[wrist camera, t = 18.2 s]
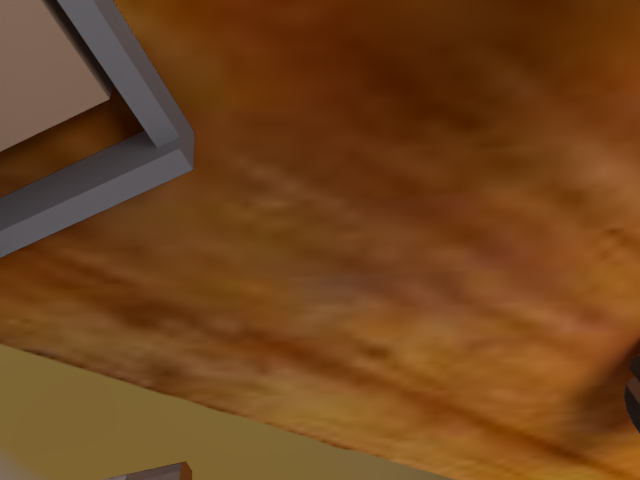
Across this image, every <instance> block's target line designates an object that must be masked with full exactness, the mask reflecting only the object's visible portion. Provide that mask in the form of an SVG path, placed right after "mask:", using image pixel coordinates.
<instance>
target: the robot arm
mask: <svg viewBox="0 0 640 480" xmlns="http://www.w3.org/2000/svg"><path fill="white" fill-rule="evenodd" d="M630 370H631V371H632V373H633V374H634V377H633V378H632V379H631V380H630V381H629V382H628V383H627V384H626V388H625V395H624V399H625V403H626V408H627V412H628V414H629V416H630V418H631V420H632V422H633V424H634V426H635V427H636V429H637V430H638V432H639V433H640V354H638V355H636V356H635V357H634V358H633V359H632V360H631V365H630ZM104 480H192V470H191V469H190V467H189V465H188V464H187V462H186V461H185V462H181V463H176V464H171V465H167V466H163V467H158V468H154V469H149V470H144V471H140V472H135V473H131V474H125V475H121V476H116V477H112V478H108V479H104Z"/></svg>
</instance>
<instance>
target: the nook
mask: <svg viewBox="0 0 640 480" xmlns="http://www.w3.org/2000/svg"><path fill="white" fill-rule="evenodd" d="M114 85H115V86H116V88H117V89H118V91H119V92H120V94H121V95H122V97H123V98H124V100H125V101H126V103H127V104H128V106H129V107H130V109H131V110H132V112H133V113H134V115H135V116H136V118H137V119H138V120H139V122H140V123H141V125H142V126H143V128H144V129H145V130H144V131H142V132H140V133H138V134H136V135H134V136H132V137H129V138H127V139H125V140H123V141H121V142H119V143H117V144H115V145H112V146H110V147H108V148H106V149H104V150H102V151H100V152H97V153H95V154H93V155H91V156H89V157H87V158H85V159H83V160H80V161H78V162H76V163H74V164H72V165H70V166H68V167H66V168H63V169H61V170H59V171H57V172H55V173H53V174H51V175H48V176H46V177H44V178H42V179H40V180H38V181H36V182H34V183H31V184H29V185H27V186H25V187H23V188H21V189H19V190H16V191H14V192H12V193H10V194H8V195H6V196H4V197H2V198H0V257H3V256H5V255H7V254H9V253H11V252H14V251H16V250H18V249H20V248H22V247H25V246H27V245H29V244H31V243H33V242H36V241H38V240H40V239H42V238H44V237H47V236H49V235H51V234H53V233H55V232H58V231H60V230H62V229H64V228H66V227H69V226H71V225H73V224H75V223H77V222H80V221H82V220H84V219H86V218H88V217H91V216H93V215H95V214H97V213H99V212H101V211H104V210H106V209H108V208H110V207H112V206H115V205H117V204H119V203H121V202H123V201H126V200H128V199H130V198H132V197H134V196H137V195H139V194H141V193H143V192H145V191H148V190H150V189H152V188H154V187H156V186H159V185H161V184H163V183H165V182H167V181H170V180H172V179H174V178H176V177H178V176H181V175H183V174H185V173H187V172H189V171H192V170H193V160H194V135H195V133H194V131H193V129H192V128H191V126H190V124H189V123H188V121H187V120H186V118H185V116H184V115H183V113H182V112H181V110H180V108H179V107H178V105H177V103H176V102H175V100H174V99H173V97H172V95H171V94H170V92H169V91H168V89H167V87H166V86H165V84H164V82H163V81H162V79H161V78H160V76H159V74H158V73H157V71H156V70H155V68H154V66H153V65H152V63H151V61H150V60H149V58H148V57H147V55H146V53H145V52H144V50H143V49H142V47H141V45H140V44H139V42H138V40H137V39H136V37H135V36H134V34H133V32H132V31H131V29H130V28H129V26H128V24H127V23H126V21H125V19H124V18H123V16H122V15H121V13H120V11H119V10H118V8H117V7H116V5H115V3H114V2H113V0H0V152H1V151H3V150H5V149H7V148H9V147H11V146H13V145H15V144H17V143H19V142H21V141H23V140H25V139H28V138H30V137H32V136H34V135H36V134H38V133H40V132H42V131H44V130H46V129H48V128H50V127H53V126H55V125H57V124H59V123H61V122H63V121H65V120H67V119H69V118H71V117H73V116H75V115H78V114H80V113H82V112H84V111H86V110H88V109H90V108H92V107H94V106H96V105H98V104H100V103H103V102H105V101H107V100H109V99H110V96H111V93H112V90H113V87H114Z"/></svg>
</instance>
